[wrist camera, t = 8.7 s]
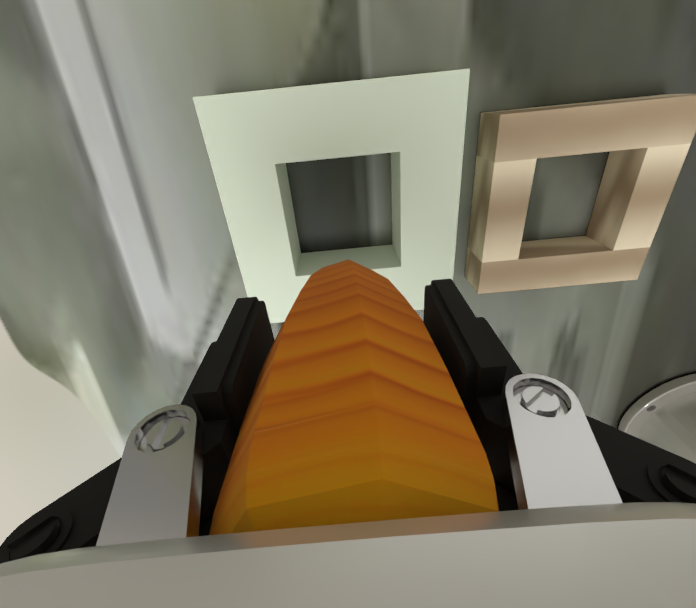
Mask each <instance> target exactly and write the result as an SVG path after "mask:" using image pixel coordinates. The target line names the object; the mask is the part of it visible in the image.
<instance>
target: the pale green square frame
mask: <svg viewBox="0 0 696 608" xmlns="http://www.w3.org/2000/svg"><path fill="white" fill-rule="evenodd" d="M469 75H470V69H461V70H451V71H441V72H432V73H422V74H412V75H403V76H393V77H383V78H374V79H364V80H354V81H345V82H335V83H325V84H316V85H306V86H296V87H287V88H277V89H267V90H258V91H248V92H238V93H229V94H219V95H209V96H199V97H192V98H193V101H194V105H195V108H196V112H197V116H198V119H199V123H200V126H201V130H202V134H203V137H204V141H205V145H206V148H207V152H208V155H209V159H210V163H211V166H212V170H213V173H214V177H215V181H216V184H217V188H218V191H219V195H220V199H221V202H222V206H223V209H224V213H225V217H226V220H227V224H228V227H229V231H230V235H231V238H232V242H233V246H234V249H235V253H236V256H237V260H238V264H239V267H240V271H241V274H242V278H243V282H244V285H245V289H246V292H247V296H248V297H257V298H258V300H259V301H264V302H265V305H266V309H267V313H268V317H269V321H270V323H278V322H284V321H285V319H286V317H287V315H288V313H289V311H290V310H291V308H292V306H293V304H294V302H295V300H296V298H297V297H298V295H299V293H300V291H301V289H302V288H303V286H304V285H305V283H306V282H307V280H308V279H309V277H310V276H311V275H312V274H313V273H315V272H316V271H318V270H319V269H321V268H323V267H326V266H329V265H332V264H335V263H338V262H342V261H345V260H348V259H349V260H351V261H353V262H356V263H358V264H360V265H362V266H364V267H366V268H369V269H371V270H373V271H375V272H376V273H378V274H380V275H382V276H384V277H385V278H387V279H389V281H390V282H391V283H392V284H393V285H394V286H395V287H396V288H397V289H398V290H399V292H400V293H401V294H402V295H403V296H404V297H405V298H406V300H407V301H408V302H409V304H410V305H411V306H412V308H413V309H414V310H422V309H424V291H425V286H426V285H431V281H432V280H440V279H451V280H452V281H453V273H454V260H455V248H456V236H457V223H458V211H459V199H460V186H461V174H462V161H463V149H464V137H465V124H466V112H467V99H468V87H469ZM382 153H391V196H392V243H393V244H392V245H382V246H371V247H360V248H350V249H339V250H329V251H318V252H307V253H301V250H300V244H299V239H298V233H297V227H296V221H295V215H294V209H293V203H292V197H291V192H290V186H289V180H288V174H287V168H286V163H291V162H301V161H311V160H321V159H331V158H341V157H351V156H361V155H372V154H382Z"/></svg>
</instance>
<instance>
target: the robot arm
mask: <svg viewBox="0 0 696 608" xmlns="http://www.w3.org/2000/svg"><path fill="white" fill-rule="evenodd" d="M423 323H424V325H425V327H426V329H427V331H428V332H429V334H430V336H431V338H432V340H433V342H434V344H435V346H436V348H437V350H438V352H439V354H440V356H441V358H442V360H443V362H444V364H445V366H446V368H447V370H448V372H449V374H450V376H451V378H452V381H453V383H454V385H455V387H456V389H457V392H458V394H459V396H460V398H461V400H462V402H463V405H464V407H465V409H466V411H467V413H468V416H469V418H470V420H471V422H472V424H473V426H474V429H475V431H476V433H477V435H478V437H479V439H480V442H481V444H482V446H483V448H484V450H485V453H486V456H487V459H488V462H489V465H490V468H491V472H492V475H493V478H494V483H495V489H496V495H497V501H498V507H499V511H498V512H485V513H472V514H459V515H446V516H433V517H421V518H408V519H396V520H384V521H372V522H360V523H347V524H335V525H323V526H312V527H300V528H288V529H276V530H264V531H253V532H242V533H230V534H219V535H209V534H210V529H211V524H212V519H213V514H214V510H215V507H216V504H217V501H218V498H219V495H220V491H221V488H222V485H223V482H224V479H225V476H226V473H227V469H228V466H229V463H230V460H231V457H232V454H233V450H234V447H235V444H236V441H237V438H238V435H239V431H240V428H241V425H242V423H243V420H244V417H245V414H246V411H247V408H248V405H249V402H250V400H251V397H252V394H253V391H254V388H255V385H256V383H257V380H258V377H259V374H260V371H261V369H262V366H263V364H264V362H265V360H266V358H267V355H268V353H269V351H270V349H271V347H272V345H273V343H274V337H273V333H272V329H271V325H270V321H269V317H268V313H267V309H266V305H265V302H264V301H259V300H258V298H257V297H248V298H238V299H237V300H236V302H235V304H234V307H233V309H232V311H231V313H230V315H229V317H228V319H227V321H226V323H225V325H224V327H223V329H222V331H221V333H220V336H219V338H218V340H217V341H216V342H213V343H212V344H211V345H210V347H209V349H208V351H207V353H206V355H205V357H204V359H203V361H202V363H201V365H200V367H199V369H198V371H197V373H196V375H195V377H194V379H193V381H192V383H191V385H190V387H189V389H188V391H187V393H186V395H185V397H184V399H183V401H182V403H181V405H171V406H166V407H164V408H161V409H158V410H156V411H154V412H153V413H151V414H149V415H147V416H146V417H145V418H144V419H142V420H141V421H140V422H139V423H138V424H137V425H136V426H135V427H134V429H133V430H132V431H131V433H130V435H129V437H128V439H127V442H126V446H125V449H124V452H123V456H122V458H120V459H119V460H117V461H116V462H114V463H113V464H111V465H109V466H108V467H107V468H105V469H103V470H102V471H100V472H99V473H97V474H96V475H94V476H93V477H91V478H89V479H88V480H87V481H85V482H83V483H82V484H80V485H79V486H77V487H76V488H74V489H73V490H71V491H70V492H68V493H67V494H65V495H63V496H62V497H60V498H59V499H57V500H56V501H54V502H53V503H51V504H50V505H48V506H47V507H45V508H43V509H42V510H40V511H39V512H37V513H36V514H34V515H33V516H31V517H30V518H29V519H27V520H26V521H25V522H23V523H22V524H21V525H19V526H18V527H17V528H16V529H15V530H14V531H13V532H12V533H11V534H10V535H9V536H8V537H7V538H6V540H5V541H4V542H3V544H2V545H1V546H0V608H696V374H691V375H687V376H684V377H680V378H677V379H674V380H672V381H669V382H667V383H664V384H662V385H661V386H659V387H657V388H655V389H653V390H651V391H650V392H648V393H647V394H645V395H644V396H642V397H641V398H640V399H639V400H638V401H636V402H635V403H634V404H633V405H632V406H631V407H630V408H629V409H628V410H627V412H626V413H625V414H624V416H623V418H622V419H621V422H620V425H619V428H618V429H616V428H614V427H611V426H609V425H607V424H604V423H602V422H600V421H598V420H595V419H593V418H591V417H588V416H586V415H585V414H584V411H583V409H582V406H581V404H580V402H579V400H578V398H577V397H576V395H575V394H574V392H573V391H572V390H570V389H569V388H568V387H567V386H566V385H564V384H563V383H561V382H559V381H558V380H556V379H553V378H550V377H548V376H545V375H539V374H523V373H522V372H521V370H520V369H519V367H518V366H517V365H516V363H515V362H514V360H513V359H512V357H511V356H510V354H509V353H508V351H507V350H506V348H505V347H504V345H503V344H502V343H501V341H500V340H499V338H498V337H497V335H496V334H495V332H494V331H493V329H492V328H491V326H490V325H489V323H488V322H487V321H486V320H485V318H482V317H478V318H476V317H475V315H474V314H473V312H472V310H471V309H470V307H469V306H468V304H467V303H466V301H465V300H464V298H463V296H462V295H461V293H460V292H459V290H458V289H457V287H456V286H455V284H454V282H453V281H452V280H451V279H440V280H432V281H431V285H426V286H425V291H424V321H423Z"/></svg>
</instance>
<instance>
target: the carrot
mask: <svg viewBox="0 0 696 608" xmlns="http://www.w3.org/2000/svg"><path fill="white" fill-rule="evenodd" d="M498 511H499V507H498V501H497V495H496V489H495V483H494V478H493V475H492V472H491V468H490V465H489V462H488V459H487V456H486V453H485V450H484V448H483V446H482V444H481V442H480V439H479V437H478V435H477V433H476V431H475V429H474V426H473V424H472V422H471V420H470V418H469V416H468V413H467V411H466V409H465V407H464V405H463V402H462V400H461V398H460V396H459V394H458V392H457V389H456V387H455V385H454V383H453V381H452V378H451V376H450V374H449V372H448V370H447V368H446V366H445V364H444V362H443V360H442V358H441V356H440V354H439V352H438V350H437V348H436V346H435V344H434V342H433V340H432V338H431V336H430V334H429V332H428V331H427V329H426V327H425V325H424V323H423V321H422V319H421V318H420V317H419V315H418V314H417V313H416V312H415V310H414V309H413V308H412V306H411V305H410V304H409V302H408V301H407V300H406V298H405V297H404V296H403V295H402V294H401V293H400V292H399V290H398V289H397V288H396V287H395V286H394V285H393V284H392V283H391V282H390V281H389V279H387V278H385V277H384V276H382V275H380V274H378V273H376V272H375V271H373V270H371V269H369V268H366V267H364V266H362V265H360V264H358V263H356V262H353V261H351V260H349V259H348V260H345V261H342V262H338V263H335V264H332V265H329V266H326V267H323V268H321V269H319V270H318V271H316V272H315V273H313V274H312V275H311V276H310V277H309V279H308V280H307V282H306V283H305V285H304V286H303V288H302V289H301V291H300V293H299V295H298V297H297V298H296V300H295V302H294V304H293V306H292V308H291V310H290V311H289V313H288V315H287V317H286V319H285V321H284V323H283V325H282V327H281V329H280V331H279V333H278V335H277V337H276V339H275V341H274V343H273V345H272V347H271V349H270V351H269V353H268V355H267V358H266V360H265V362H264V364H263V366H262V369H261V371H260V374H259V377H258V380H257V383H256V385H255V388H254V391H253V394H252V397H251V400H250V402H249V405H248V408H247V411H246V414H245V417H244V420H243V423H242V425H241V428H240V431H239V435H238V438H237V441H236V444H235V447H234V450H233V454H232V457H231V460H230V463H229V466H228V469H227V473H226V476H225V479H224V482H223V485H222V488H221V491H220V495H219V498H218V501H217V504H216V507H215V510H214V514H213V519H212V524H211V529H210V534H209V535H219V534H230V533H242V532H253V531H264V530H276V529H288V528H300V527H312V526H323V525H335V524H347V523H360V522H372V521H384V520H396V519H408V518H421V517H433V516H446V515H459V514H472V513H485V512H498Z"/></svg>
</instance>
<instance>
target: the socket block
mask: <svg viewBox="0 0 696 608" xmlns="http://www.w3.org/2000/svg"><path fill="white" fill-rule="evenodd" d="M695 132H696V94H662V95H652V96H642V97H633V98H623V99H613V100H603V101H593V102H583V103H573V104H563V105H553V106H543V107H533V108H523V109H513V110H504V111H494V112H484V113H481V116H480V126H479V136H478V146H477V156H476V166H475V176H474V186H473V196H472V206H471V216H470V226H469V237H468V247H467V257H466V267H465V277H466V278H467V280H468V281H469V283H470V284H471V285H472V287H473V288H474V289H475V291H476V292H477V294H484V293H495V292H506V291H517V290H528V289H539V288H550V287H561V286H572V285H583V284H594V283H605V282H616V281H627V280H637V279H638V276H639V274H640V271H641V269H642V266H643V264H644V261H645V259H646V256H647V254H648V251H649V248H650V246H651V243H652V241H653V238H654V236H655V233H656V231H657V228H658V226H659V223H660V221H661V218H662V216H663V213H664V211H665V208H666V205H667V203H668V200H669V198H670V195H671V193H672V190H673V188H674V185H675V183H676V180H677V178H678V175H679V173H680V170H681V167H682V165H683V162H684V160H685V157H686V155H687V152H688V150H689V147H690V145H691V142H692V140H693V137H694V135H695ZM608 151H610V152H609V156H608V159H607V163H606V166H605V170H604V173H603V177H602V180H601V184H600V187H599V191H598V194H597V198H596V201H595V205H594V208H593V212H592V215H591V219H590V222H589V226H588V229H587V233H586V236H576V237H565V238H555V239H544V240H533V241H523V242H521V241H522V236H523V230H524V225H525V220H526V214H527V209H528V204H529V198H530V193H531V187H532V182H533V177H534V171H535V166H536V160H537V158H547V157H557V156H567V155H577V154H588V153H598V152H608Z"/></svg>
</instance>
